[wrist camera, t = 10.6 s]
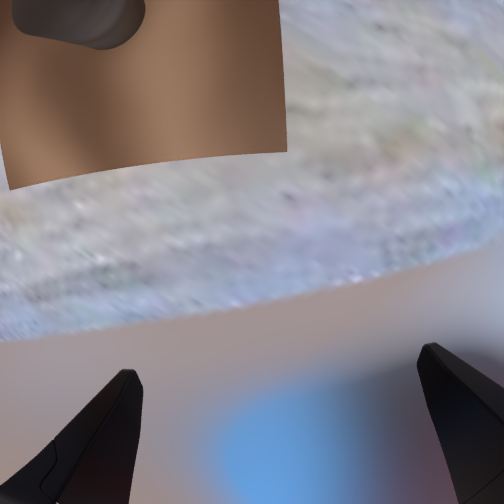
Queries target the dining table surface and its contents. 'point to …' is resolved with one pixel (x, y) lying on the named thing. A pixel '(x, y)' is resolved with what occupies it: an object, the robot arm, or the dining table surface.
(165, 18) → the walnut lid
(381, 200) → the dining table surface
